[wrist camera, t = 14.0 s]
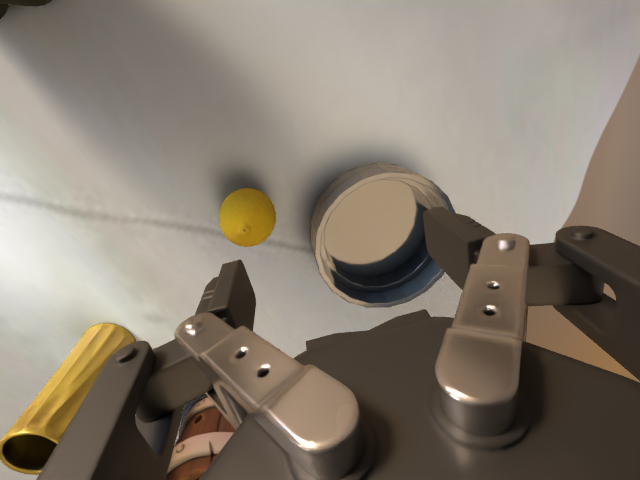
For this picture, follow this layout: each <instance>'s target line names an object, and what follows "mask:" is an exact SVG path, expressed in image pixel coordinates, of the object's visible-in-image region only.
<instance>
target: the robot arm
mask: <svg viewBox="0 0 640 480" xmlns="http://www.w3.org/2000/svg"><path fill="white" fill-rule="evenodd" d="M423 221H424V230H425V238H426V246H427V250H428V252H429V254H430V256H431V258H432V259H433V260H434V261H435V262H436V263H437V264H438V265H439V266H440V267H441V268H442V269H443V270H444V271H445V272H446V273H447V274H448V275H449V277H450V278H451V279H452V280H453V281H454V282H455V283H456V284H457V285H458V286H459V287H460V288H461V289H462V290H463V292H462V295H461V298H460V301H459V305H458V308H457V311H456V314H455V317H454V318H450V317H431V316H430V315H429V313H428V312H427V310H426V309H424V310H421V311H417V312H413V313H410V314H406V315H402V316H398V317H395V318H393V319H391V320H389V321H387V322H385V323H383V324H381V325H379V326H377V327H375V328H372V329H370V330H367V331H358V332H346V333H335V334H331V335H328V336H324V337H320V338H317V339H313V340H309V341H306V347H307V351H305V352H303V353H301V354H299V355H298V356H296V357H295V358H291V357H290V356H288V355H287V354H285V353H284V352H282V351H281V350H279V349H278V348H276V347H275V346H273V345H272V344H271V343H269V342H268V341H266V340H265V339H263V338H262V337H260V336H259V335H257V334H256V333H254V332H253V325H254V316H255V307H256V299H255V294H254V291H253V288H252V285H251V283H250V280H249V277H248V275H247V272H246V269H245V267H244V264H243V262H242V261H241V260H236V261H233V262H229V263H225V264H223V265H222V268H221V271H220V274H219V277H216V278H213V279H212V280H211V281H210V282H209V283H208V284H207V286H206V288H205V290H204V294H203V295H202V298H201V301H200V303H199V306H198V308H197V311H196V313H195V315H194V316H192V317H190V318H188V319H186V320H185V321H184V322H182V323H181V324H180V325H179V326H178V327H177V329H176V331H175V334H174V335H175V338H176V339H174V340H172V341H170V342H168V343H166V344H164V345H162V346H160V347H158V348H156V349H153V350H152V348H151V346H150V345H149V343H148V342H146V341H137V342H134V343H131V344H129V345H126V346H124V347H123V348H121V349H119V350H118V351H117V352H115V353H114V354H113V355H112V356H111V357H110V358H109V359H108V360H107V361H106V363H105V364H104V366H103V368H102V369H101V371H100V373H99V375H98V376H97V378H96V380H95V381H94V383H93V385H92V386H91V388H90V390H89V391H88V393H87V395H86V397H85V398H84V400H83V402H82V403H81V405H80V407H79V408H78V410H77V412H76V413H75V415H74V417H73V419H72V420H71V422H70V424H69V425H68V427H67V429H66V430H65V432H64V434H63V435H62V437H61V439H60V441H59V442H58V444H57V446H56V447H55V449H54V451H53V452H52V454H51V456H50V457H49V459H48V461H47V463H46V464H45V466H44V468H43V469H42V471H41V473H40V474H39V476H38V478H37V479H36V480H166V476H167V472H168V468H169V464H170V460H171V456H172V452H173V448H174V444H175V440H176V436H177V432H178V428H179V424H180V420H181V416H182V412H183V407H184V404H186V403H188V402H190V401H191V400H193V399H195V398H197V397H199V396H201V395H203V394H206V395H207V397H208V398H209V399H210V400H211V402H212V403H213V404H214V405H215V406H216V407H217V409H218V410H219V411H220V412H221V413H222V414H223V416H224V417H225V418H226V419H227V420H228V421H229V423H230V424H231V425H232V426H233V428H234V429H235V432H234V433H233V435H232V436H231V437H230V439H229V440H228V441H227V443H226V444H225V445H224V447H223V448H222V449H221V451H220V452H219V453H218V455H217V456H216V457H215V459H214V460H213V461H212V463H211V464H210V465H209V467H208V468H207V470H206V471H205V472H204V474H203V475H202V476H201V478H200V479H199V480H640V383H639V382H637V381H634V380H631V379H629V378H627V377H624V376H621V375H618V374H615V373H613V372H610V371H607V370H604V369H601V368H599V367H596V366H593V365H590V364H587V363H584V362H581V361H579V360H576V359H573V358H570V357H567V356H565V355H561V354H559V353H556V352H553V351H550V350H548V349H545V348H542V347H539V346H536V345H533V344H530V343H527V342H526V331H527V313H528V306H544V305H553V307H554V308H555V309H556V310H557V311H558V312H560V313H561V314H562V315H563V316H564V317H565V318H567V319H568V320H569V321H570V322H571V323H573V324H574V325H575V326H576V327H577V328H578V329H580V330H581V331H582V332H583V333H584V334H586V335H587V336H588V337H589V338H590V339H591V340H593V341H594V342H595V343H596V344H597V345H598V346H600V347H601V348H602V349H603V350H604V351H606V352H607V353H608V354H609V355H610V356H611V357H613V358H614V359H615V360H616V361H617V362H618V363H620V364H621V365H622V366H623V367H624V368H625V369H627V370H628V371H629V372H630V373H631V374H633V375H634V376H635V377H636V378H637V379H639V380H640V246H638V245H636V244H633V243H631V242H629V241H627V240H625V239H622V238H620V237H618V236H616V235H614V234H611V233H609V232H607V231H605V230H602V229H599V228H596V227H590V226H570V227H566V228H562V229H560V230H558V231H557V232H556V239H555V243H546V244H535V245H530V242H529V240H528V239H527V238H525V237H523V236H521V235H517V234H511V233H502V234H495V233H494V232H492V231H491V230H489V229H487V228H486V227H484V226H481V224H479V223H478V222H475V220H473V219H471V218H470V217H468V216H465V215H461V214H453V213H451V212H450V211H448V210H447V209H445V208H444V207H442V206H441V207H437V208H433V209H429V210H426V211H424V212H423ZM604 282H605V283H606V284H608V285H609V286H610V287H611V288H612V290H613V291H614V293H615V295H616V301H615V300H614V299H612V298H611V297H609V296H607V295H606V294H604V293H603V289H604ZM135 414H136V416H135Z"/></svg>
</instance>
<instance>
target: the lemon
mask: <svg viewBox="0 0 640 480" xmlns="http://www.w3.org/2000/svg"><path fill="white" fill-rule="evenodd" d="M275 222H276V212H275V209H274V205H273V204H272V202H271V200H270V199H269V198H268V197H267V196H266V195H265V194H264V193H262V192H261V191H259V190H256V189H252V188H244V189H239V190H236V191H234V192H232V193H231V194H230V195H229V196H227V197H226V199H225V200H224V201H223V203H222V205H221V208H220V211H219V224H220V228H221V230H222V232H223V234H224V235H225V236H226V238H227V239H228V240H230V241H231V242H232V243H234V244H236V245H239V246H244V247H248V246H255V245H258V244H260V243H261V242H263V241H265V240H266V238H267V237H268V236H269V235H270V234H271V232H272V230H273V229H274V225H275Z"/></svg>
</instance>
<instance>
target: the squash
mask: <svg viewBox="0 0 640 480" xmlns="http://www.w3.org/2000/svg"><path fill="white" fill-rule="evenodd" d="M51 1H52V0H0V19H1V18H2V17H3V16H4V15H5V14H6V12H7V9H8V4H12V5H20V6H43V5H46V4H47V3H49V2H51Z"/></svg>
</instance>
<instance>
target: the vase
mask: <svg viewBox="0 0 640 480" xmlns="http://www.w3.org/2000/svg"><path fill="white" fill-rule="evenodd" d="M134 342H135V340H134V338H133V336H132V335H131V333H130V332H129V331H127V330H126V329H124V328H123V327H120V326H118V325H114V324H98V325H95V326H92V327H90V328H89V329H88V330H87V331H86V332H85V333H84V334H83V336H82V338H81V339H80V341H79V342H78V343H77V345H76V346H75V348H74V349H73V350H72V352H71V353H70V354H69V356H68V357H67V358H66V359H65V361H64V362H63V363H62V364H61V366H60V367H59V368H58V369H57V371H56V372H55V373H54V374H53V376H52V377H51V378H50V380H49V381H48V382H47V384H46V385H45V386H44V388H43V389H42V390H41V392H40V393H39V394H38V395H37V397H36V398H35V399H34V401H33V402H32V403H31V404H30V405H29V407H28V408H27V409H26V410H25V411H24V413H23V414H22V415H21V416H20V418H19V419H18V420H17V421H16V423H15V424H14V425H13V426H12V428H11V429H10V430H9V431H8V432H7V433H6V435H5V436H4V437H3V438H2V439H1V441H0V460H1V462H2V463H3V464H4V465H6V466H7V467H8V468H10V469H12V470H14V471H17V472H20V473H24V474H33V475H39V474H40V473H41V471H42V469H43V468H44V466H45V464H46V463H47V461H48V459H49V457H50V456H51V454H52V452H53V451H54V449H55V447H56V446H57V444H58V442H59V441H60V439H61V437H62V435H63V434H64V432H65V430H66V429H67V427H68V425H69V424H70V422H71V420H72V419H73V417H74V415H75V413H76V412H77V410H78V408H79V407H80V405H81V403H82V402H83V400H84V398H85V397H86V395H87V393H88V391H89V390H90V388H91V386H92V385H93V383H94V381H95V380H96V378H97V376H98V375H99V373H100V371H101V369H102V368H103V366H104V364H105V363H106V361H107V360H108V359H109V358H110V357H111V356H112V355H113V354H114V353H115V352H117V351H118V350H119V349H121V348H123V347H124V346H126V345H129V344H131V343H134Z"/></svg>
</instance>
